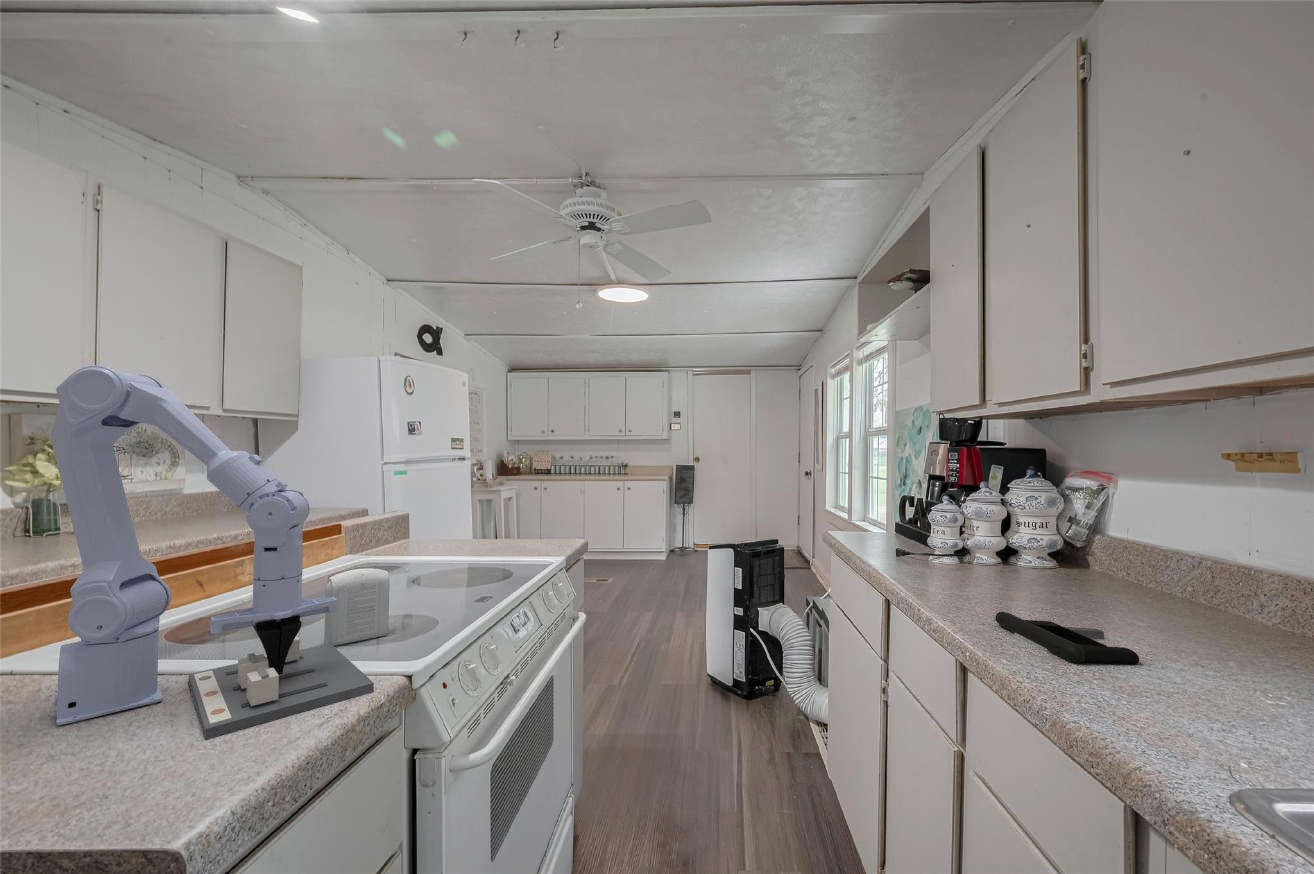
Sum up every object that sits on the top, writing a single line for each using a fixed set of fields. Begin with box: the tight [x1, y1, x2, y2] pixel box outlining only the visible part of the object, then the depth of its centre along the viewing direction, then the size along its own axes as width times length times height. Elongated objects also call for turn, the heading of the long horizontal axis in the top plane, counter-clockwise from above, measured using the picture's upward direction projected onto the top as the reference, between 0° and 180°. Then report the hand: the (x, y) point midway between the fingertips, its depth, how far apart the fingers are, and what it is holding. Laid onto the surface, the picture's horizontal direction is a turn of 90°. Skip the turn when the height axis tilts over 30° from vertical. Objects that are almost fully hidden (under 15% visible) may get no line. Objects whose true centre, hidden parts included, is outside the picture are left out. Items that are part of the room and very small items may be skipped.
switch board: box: [188, 644, 375, 740], centre depth 77 cm, size 18×22×1 cm
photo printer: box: [323, 567, 391, 647], centre depth 97 cm, size 10×4×12 cm, turn 134°
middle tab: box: [237, 652, 268, 689], centre depth 75 cm, size 3×4×3 cm
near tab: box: [246, 667, 279, 706], centre depth 70 cm, size 3×4×3 cm
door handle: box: [994, 611, 1141, 665], centre depth 95 cm, size 3×20×16 cm
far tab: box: [285, 635, 301, 662], centre depth 83 cm, size 3×4×3 cm
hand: (276, 673), depth 76 cm, fingers closed
